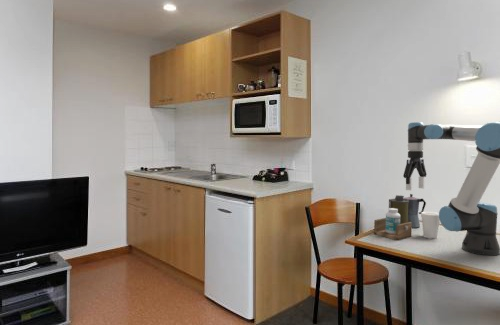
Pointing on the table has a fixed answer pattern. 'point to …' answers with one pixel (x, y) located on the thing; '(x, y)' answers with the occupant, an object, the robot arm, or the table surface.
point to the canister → (400, 207)
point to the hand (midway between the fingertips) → (415, 189)
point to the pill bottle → (392, 220)
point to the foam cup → (430, 224)
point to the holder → (401, 229)
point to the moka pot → (414, 210)
